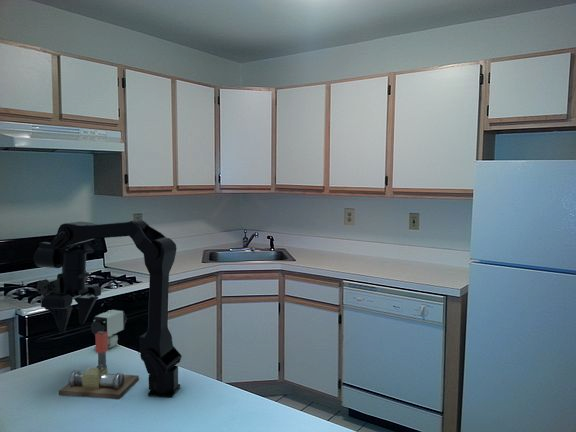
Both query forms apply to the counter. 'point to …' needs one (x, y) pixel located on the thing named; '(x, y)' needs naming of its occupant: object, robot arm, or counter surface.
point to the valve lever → (101, 348)
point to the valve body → (96, 379)
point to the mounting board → (103, 391)
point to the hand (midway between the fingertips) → (72, 327)
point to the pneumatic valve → (110, 325)
